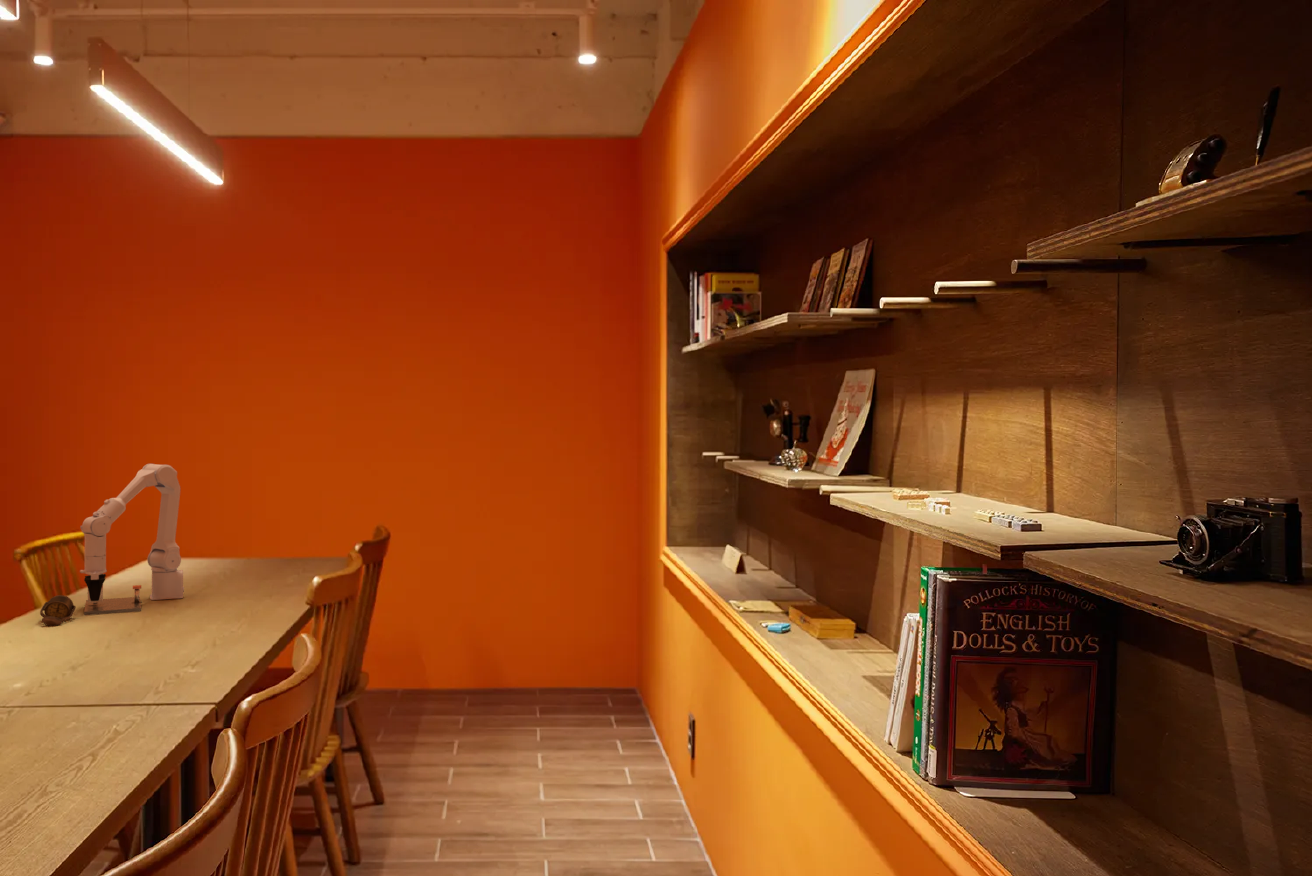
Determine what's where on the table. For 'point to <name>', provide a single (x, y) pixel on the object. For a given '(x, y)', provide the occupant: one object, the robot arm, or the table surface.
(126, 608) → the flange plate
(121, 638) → the table surface
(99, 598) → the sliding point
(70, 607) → the dark brown rounded piece
